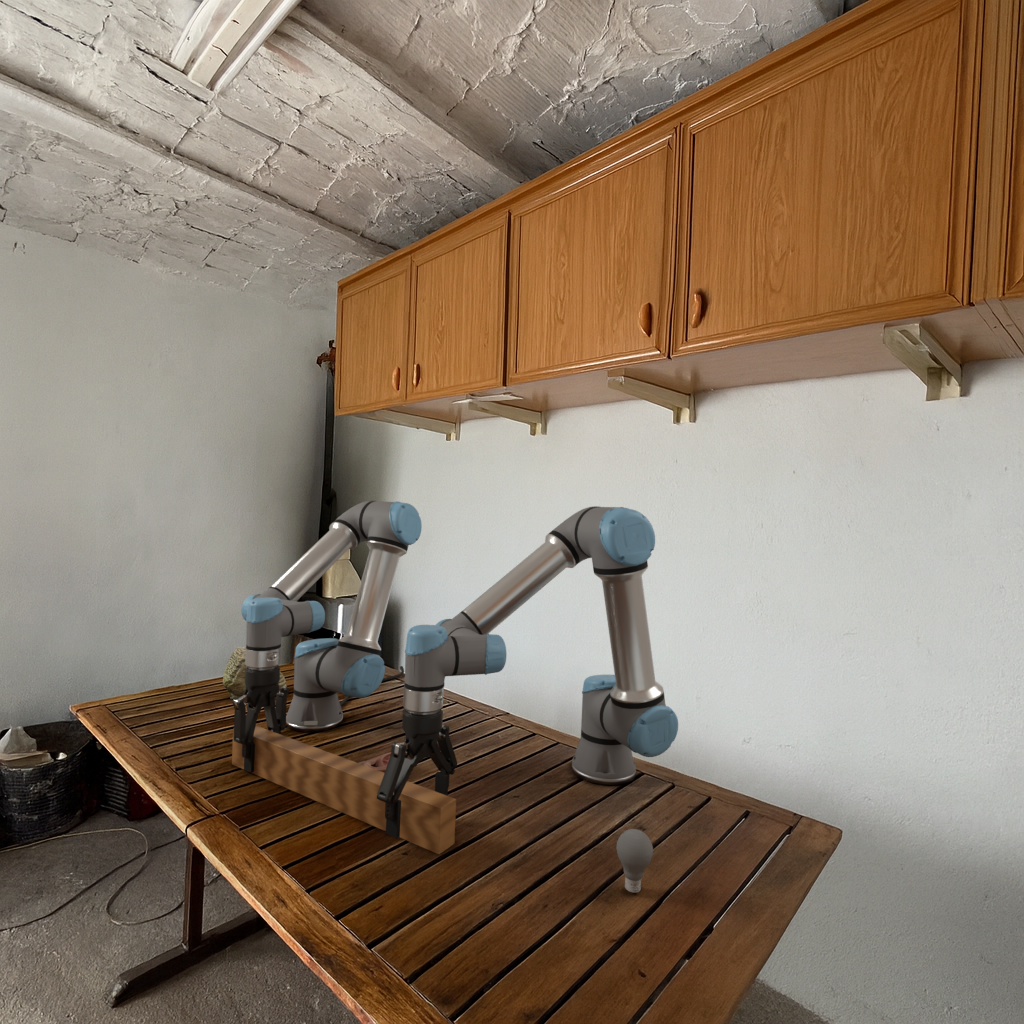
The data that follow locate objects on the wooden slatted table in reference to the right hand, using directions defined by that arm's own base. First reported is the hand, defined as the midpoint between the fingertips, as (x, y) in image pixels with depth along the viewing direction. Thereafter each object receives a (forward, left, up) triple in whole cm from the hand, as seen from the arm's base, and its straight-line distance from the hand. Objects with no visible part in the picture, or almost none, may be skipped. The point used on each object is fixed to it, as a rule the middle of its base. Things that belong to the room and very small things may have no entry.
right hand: (417, 820), depth 120 cm
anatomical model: (-6, -29, -3) cm, 30 cm away
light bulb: (-21, +35, -3) cm, 41 cm away
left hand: (+15, -46, -3) cm, 48 cm away
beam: (+7, -23, -3) cm, 24 cm away
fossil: (-1, -100, -3) cm, 100 cm away
